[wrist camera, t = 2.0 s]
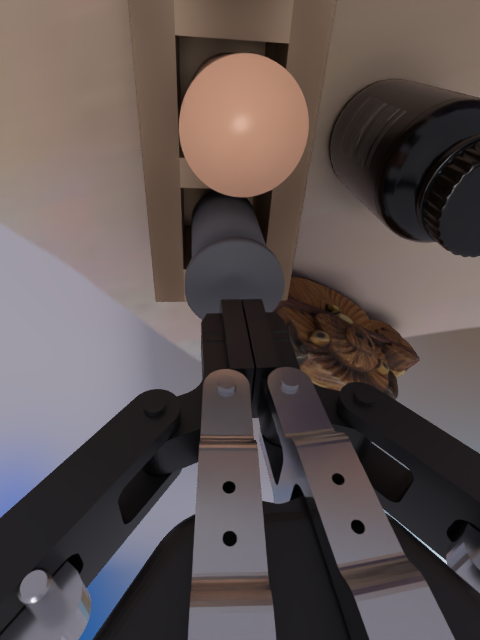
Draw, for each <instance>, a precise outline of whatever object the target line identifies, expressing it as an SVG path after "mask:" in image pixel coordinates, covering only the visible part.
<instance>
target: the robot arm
mask: <svg viewBox="0 0 480 640" xmlns="http://www.w3.org/2000/svg"><path fill="white" fill-rule="evenodd" d="M201 357H202V377H203V380H202V382H201V383H200V385H199V386H198V387H197V388H196V389H194V390H193V391H191V392H189V393H186V394H183V395H180V396H177V397H176V396H175V395H174V394H173V393H171V392H169V391H166V390H162V389H154V390H149V391H146V392H143V393H142V394H140V395H138V396H137V397H136V398H135V399H134V400H133V401H131V402H130V403H129V404H128V405H127V406H126V407H125V408H124V409H123V410H121V411H120V412H119V413H118V414H117V415H116V416H115V417H113V418H112V419H111V420H110V421H109V422H108V423H107V424H106V425H104V426H103V427H102V428H101V429H100V430H99V431H98V432H97V433H96V434H94V435H93V436H92V437H91V438H90V439H89V440H88V441H86V442H85V443H84V444H83V445H82V446H81V447H80V448H79V449H78V450H76V451H75V452H74V453H73V454H72V455H71V456H70V457H69V458H67V459H66V460H65V461H64V462H63V463H62V464H61V465H59V466H58V467H57V468H56V469H55V470H54V471H53V472H52V473H50V474H49V475H48V476H47V477H46V478H45V479H44V480H43V481H42V482H40V483H39V484H38V485H37V486H36V487H35V488H34V489H33V490H31V491H30V492H29V493H28V494H27V495H26V496H25V497H23V498H22V499H21V500H20V501H19V502H18V503H17V504H16V505H14V506H13V507H12V508H11V509H10V510H9V511H8V512H7V513H5V514H4V515H3V516H2V517H1V518H0V640H78V639H79V638H80V636H81V634H82V633H83V631H84V629H85V627H86V625H87V622H88V620H89V617H90V611H91V600H90V596H89V593H88V591H87V589H86V588H87V587H88V585H89V584H90V583H91V582H92V580H93V579H94V578H95V577H96V576H97V574H98V573H99V572H100V571H101V569H102V568H103V567H104V566H105V565H106V563H107V562H108V561H109V560H110V558H111V557H112V556H113V555H114V554H115V552H116V551H117V550H118V549H119V547H120V546H121V545H122V544H123V543H124V541H125V540H126V539H127V537H128V536H129V535H130V534H131V533H132V531H133V530H134V529H135V528H136V527H137V525H138V524H139V523H140V521H141V520H142V519H143V518H144V517H145V515H146V514H147V513H148V512H149V511H150V509H151V508H152V507H153V506H154V504H155V503H156V502H157V501H158V500H159V498H160V497H161V496H162V495H163V494H164V492H165V491H166V490H167V489H168V487H169V486H170V485H171V484H172V482H173V481H174V480H175V479H176V478H177V476H178V475H179V474H180V472H181V470H182V468H184V467H187V466H189V465H192V464H194V463H197V462H198V477H197V494H196V513H195V515H192V516H191V517H189V518H187V519H185V520H184V521H182V522H181V523H179V524H178V525H177V526H175V527H174V528H173V529H172V530H171V531H170V532H169V533H168V534H167V535H166V536H165V537H164V538H163V540H162V541H161V542H160V543H159V545H158V546H157V547H156V549H155V550H154V552H153V553H152V555H151V556H150V557H149V559H148V560H147V562H146V563H145V565H144V566H143V567H142V569H141V570H140V572H139V573H138V575H137V576H136V578H135V579H134V580H133V582H132V584H131V585H130V586H129V588H128V589H127V591H126V592H125V593H124V595H123V597H122V598H121V599H120V601H119V602H118V604H117V605H116V606H115V608H114V609H113V611H112V612H111V614H110V615H109V617H108V618H107V619H106V621H105V622H104V624H103V625H102V627H101V628H100V629H99V631H98V632H97V634H96V635H95V637H94V638H93V640H480V454H479V453H478V452H476V451H474V450H473V449H471V448H470V447H468V446H466V445H465V444H463V443H462V442H460V441H459V440H457V439H456V438H454V437H452V436H451V435H449V434H448V433H446V432H445V431H443V430H441V429H440V428H438V427H437V426H435V425H433V424H432V423H430V422H429V421H427V420H426V419H424V418H422V417H421V416H419V415H417V414H416V413H415V412H413V411H412V410H410V409H408V408H407V407H405V406H404V405H402V404H400V403H399V402H397V401H396V400H394V399H393V398H391V397H389V396H388V395H386V394H385V393H383V392H382V391H380V390H378V389H377V388H375V387H374V386H372V385H369V384H367V383H363V382H351V383H348V384H346V385H345V386H343V387H342V389H341V391H338V390H333V389H329V388H324V387H321V386H318V385H316V384H314V383H312V381H311V379H310V378H309V376H308V375H307V374H306V373H304V372H303V371H301V370H300V367H299V364H298V361H297V358H296V355H295V352H294V349H293V346H292V343H291V341H290V336H289V333H288V330H287V327H286V324H285V321H284V320H283V319H282V318H281V317H280V316H279V315H278V314H277V313H276V312H265V308H264V305H263V301H262V299H221V300H220V313H207V314H206V316H205V317H204V319H203V321H202V322H201ZM252 418H259V422H260V431H259V441H260V445H261V448H262V452H263V455H264V460H265V463H266V467H267V471H268V475H269V479H270V482H271V486H272V490H273V496H274V503H270V502H265V501H262V495H261V483H260V471H259V459H258V448H257V442H256V440H254V436H253V424H252ZM372 442H374V443H375V444H376V445H378V446H379V447H380V448H382V449H383V450H385V451H386V452H388V453H389V454H390V455H392V456H393V457H394V458H396V459H397V460H398V461H400V462H401V463H403V464H404V465H405V466H406V467H408V468H409V469H410V470H408V469H407V468H405V467H404V466H402V465H401V464H399V463H398V462H397V461H396V460H394V459H393V458H391V457H390V456H389V455H387V454H386V453H384V452H383V451H382V450H380V449H379V448H378V447H376V446H375V445H374V444H372ZM383 509H384V510H386V511H387V512H388V513H389V514H390V515H391V516H393V517H394V518H395V519H396V520H398V521H399V522H400V523H401V524H402V525H404V526H405V527H406V528H407V529H409V530H410V531H411V532H412V533H413V534H415V535H416V536H417V537H418V538H420V539H421V540H422V541H423V542H425V543H426V544H427V545H428V546H429V547H431V548H432V549H433V550H434V551H435V552H437V553H438V554H439V555H440V556H442V557H443V558H444V559H445V560H446V561H447V564H445V563H444V562H443V561H442V560H441V559H440V558H439V557H437V556H436V555H435V554H434V553H433V552H431V551H430V550H429V549H428V548H427V547H426V546H425V545H424V544H422V543H421V542H420V541H419V540H418V539H417V538H415V537H414V536H413V535H412V534H411V533H410V532H409V531H407V530H406V529H405V528H404V527H403V526H401V525H400V524H399V523H398V522H397V521H396V520H394V519H393V518H392V517H390V516H389V515H388V514H386V513H385V512H384V510H383Z"/></svg>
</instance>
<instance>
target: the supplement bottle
mask: <svg viewBox="0 0 480 640" xmlns="http://www.w3.org/2000/svg"><path fill="white" fill-rule="evenodd" d="M330 155H331V162H332V165H333V168H334V171H335V173H336V174H337V176H338V178H339V179H340V180H341V181H342V183H343V184H344V185H345V186H346V187H347V188H348V189H349V190H350V191H351V192H352V193H353V194H354V195H355V196H356V197H357V198H358V199H359V200H360V201H361V202H362V203H363V204H364V205H365V206H366V207H367V208H368V209H369V210H370V211H371V212H372V213H373V214H374V215H375V216H376V217H377V218H378V219H379V220H381V221H382V222H383V223H384V224H385V225H386V226H387V227H388V228H389V229H390V230H391V231H393V232H394V233H395V234H397V235H398V236H400V237H402V238H404V239H407V240H410V241H414V242H422V243H431V242H437V243H439V244H440V245H441V246H442V247H443V248H445V249H446V250H448V251H450V252H452V253H453V254H455V255H461V256H463V257H468V256H470V257H477V256H480V98H478V97H474V96H470V95H466V94H462V93H458V92H454V91H450V90H446V89H441V88H437V87H433V86H429V85H425V84H421V83H417V82H412V81H407V80H402V79H390V80H384V81H380V82H377V83H375V84H373V85H371V86H369V87H367V88H365V89H364V90H362V91H361V92H360V93H358V94H357V95H356V96H355V97H354V98H353V99H352V100H351V101H350V102H349V103H348V104H347V106H346V107H345V108H344V110H343V111H342V113H341V114H340V116H339V118H338V120H337V122H336V124H335V127H334V130H333V133H332V138H331V145H330Z"/></svg>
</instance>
